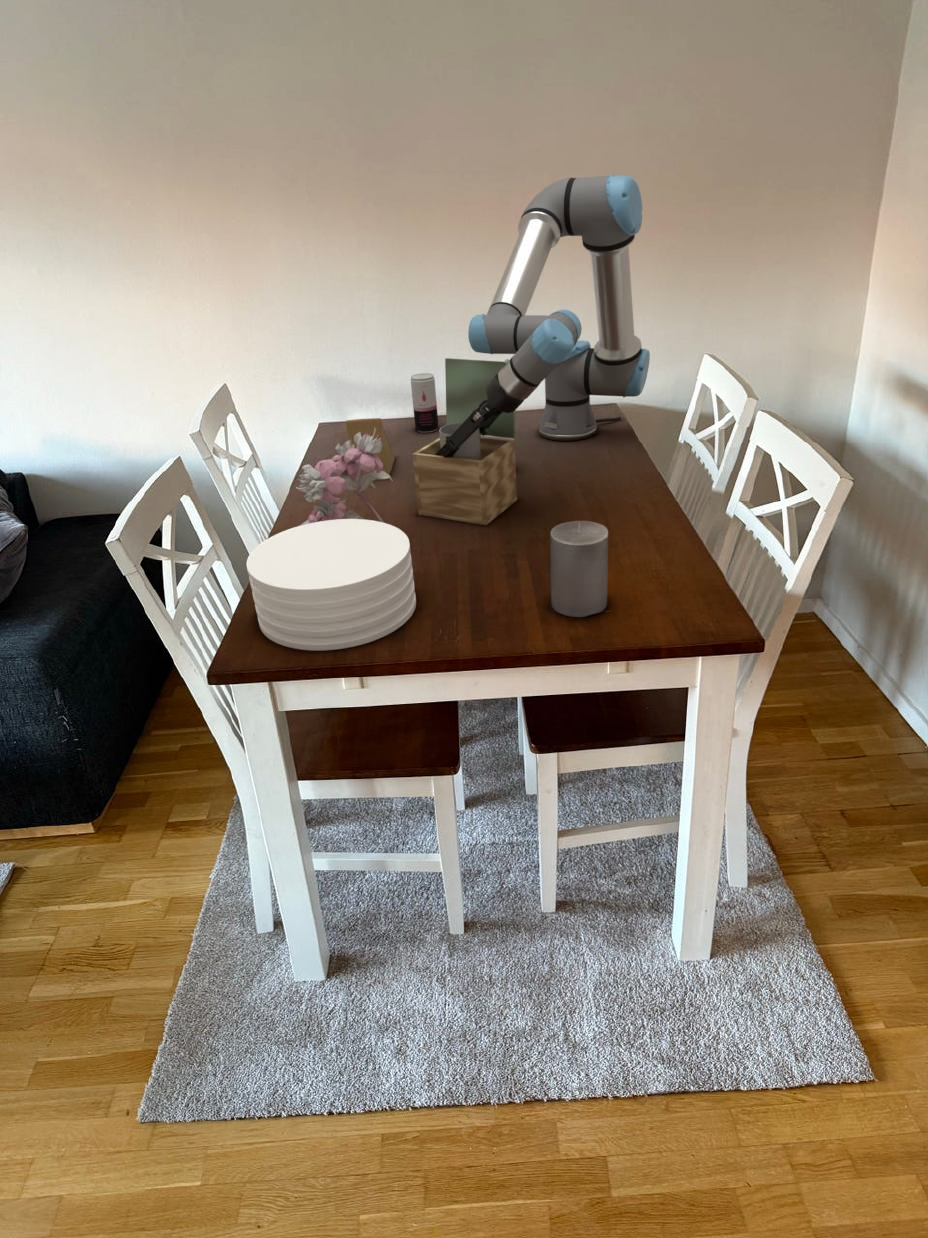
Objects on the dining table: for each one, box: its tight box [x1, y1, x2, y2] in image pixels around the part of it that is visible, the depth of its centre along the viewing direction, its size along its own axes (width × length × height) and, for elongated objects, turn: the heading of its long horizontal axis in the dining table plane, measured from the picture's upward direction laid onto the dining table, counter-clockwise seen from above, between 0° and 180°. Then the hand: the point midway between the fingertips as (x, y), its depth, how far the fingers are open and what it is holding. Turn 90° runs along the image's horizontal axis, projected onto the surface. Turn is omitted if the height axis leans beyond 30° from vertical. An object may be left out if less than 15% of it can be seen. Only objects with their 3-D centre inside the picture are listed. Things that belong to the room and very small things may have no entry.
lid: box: [444, 357, 517, 439], centre depth 187 cm, size 16×17×1 cm
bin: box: [412, 435, 518, 526], centre depth 189 cm, size 15×17×14 cm
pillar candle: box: [549, 520, 609, 618], centre depth 147 cm, size 10×10×15 cm
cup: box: [438, 423, 481, 461], centre depth 184 cm, size 8×8×10 cm
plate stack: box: [246, 518, 417, 652], centre depth 152 cm, size 28×28×12 cm
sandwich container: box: [345, 417, 396, 476], centre depth 215 cm, size 9×15×15 cm, turn 177°
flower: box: [295, 428, 394, 526], centre depth 176 cm, size 20×22×25 cm
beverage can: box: [410, 372, 440, 434], centre depth 240 cm, size 7×7×15 cm
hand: (447, 455), depth 187 cm, fingers closed on cup, 8 cm apart
